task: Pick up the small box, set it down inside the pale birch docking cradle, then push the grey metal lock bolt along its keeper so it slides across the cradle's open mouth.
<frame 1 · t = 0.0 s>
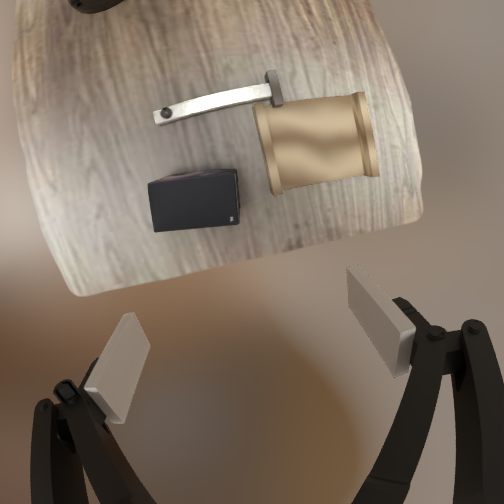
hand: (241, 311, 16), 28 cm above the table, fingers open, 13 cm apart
small box: (203, 190, 41), on the table
cradle: (315, 140, 39), on the table
lock bolt: (216, 101, 35), point 2 cm above the table, slide at 0.0 cm
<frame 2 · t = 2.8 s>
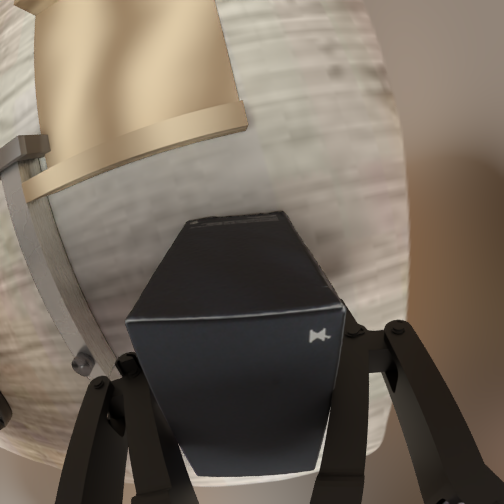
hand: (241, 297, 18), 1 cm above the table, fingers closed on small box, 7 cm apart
small box: (240, 291, 19), on the table, touching gripper
cradle: (116, 44, 12), on the table
lock bolt: (47, 272, 15), point 2 cm above the table, slide at 0.0 cm
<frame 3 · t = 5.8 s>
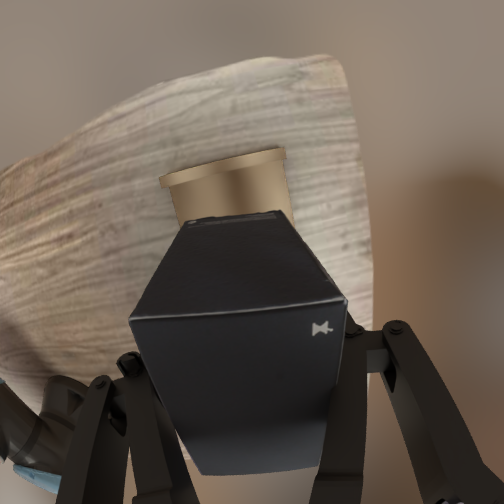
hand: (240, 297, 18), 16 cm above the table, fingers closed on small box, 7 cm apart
small box: (239, 290, 19), point 15 cm above the table, touching gripper
cradle: (238, 228, 33), on the table
when the fingers open (2 cm above the table, at t = 8.6 s): small box stays where it is, resting on cradle.
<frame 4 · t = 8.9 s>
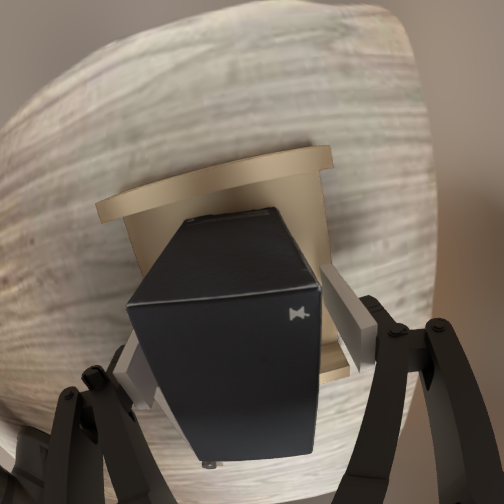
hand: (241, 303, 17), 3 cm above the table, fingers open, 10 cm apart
small box: (238, 284, 20), resting on cradle
cradle: (240, 283, 20), on the table
lock bolt: (186, 423, 23), point 2 cm above the table, slide at 0.0 cm
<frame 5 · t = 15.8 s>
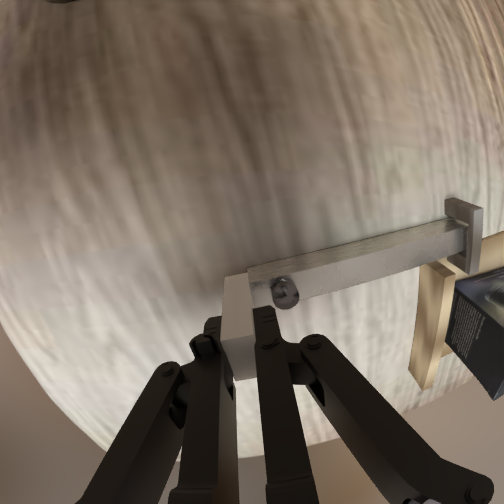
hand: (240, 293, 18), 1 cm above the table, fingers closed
small box: (475, 296, 22), resting on cradle
cradle: (474, 297, 22), on the table
lock bolt: (380, 259, 18), point 2 cm above the table, slide at 0.0 cm, touching gripper
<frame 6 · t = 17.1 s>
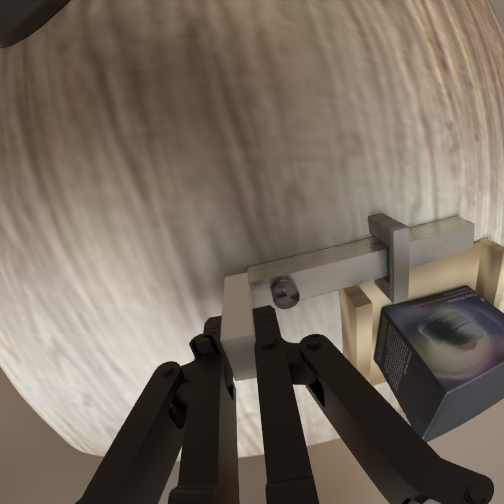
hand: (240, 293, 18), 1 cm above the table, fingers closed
small box: (423, 320, 22), resting on cradle
cradle: (421, 320, 22), on the table
lock bolt: (380, 259, 18), point 2 cm above the table, slide at 7.5 cm, touching gripper
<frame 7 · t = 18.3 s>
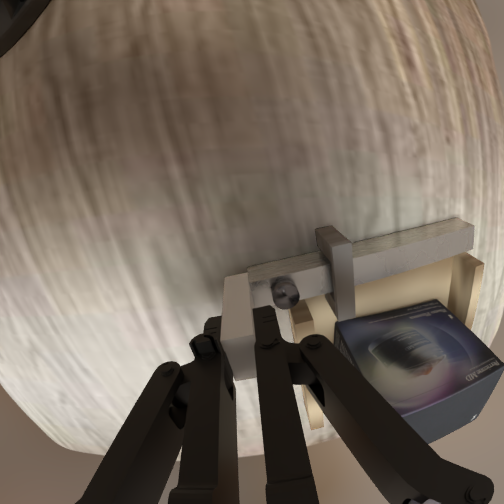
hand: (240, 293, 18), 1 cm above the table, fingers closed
small box: (385, 334, 22), resting on cradle
cradle: (384, 335, 22), on the table
lock bolt: (380, 260, 18), point 2 cm above the table, slide at 11.6 cm, touching gripper
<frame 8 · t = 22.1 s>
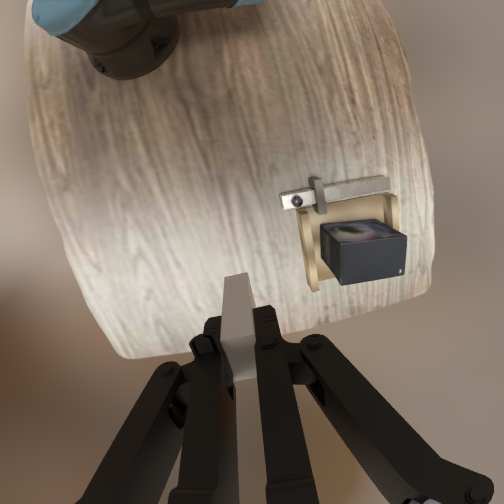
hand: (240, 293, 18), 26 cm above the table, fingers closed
small box: (348, 237, 45), resting on cradle
cradle: (348, 237, 46), on the table
lock bolt: (338, 191, 41), point 2 cm above the table, slide at 11.7 cm
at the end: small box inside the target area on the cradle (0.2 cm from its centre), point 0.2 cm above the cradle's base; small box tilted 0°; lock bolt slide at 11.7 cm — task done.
